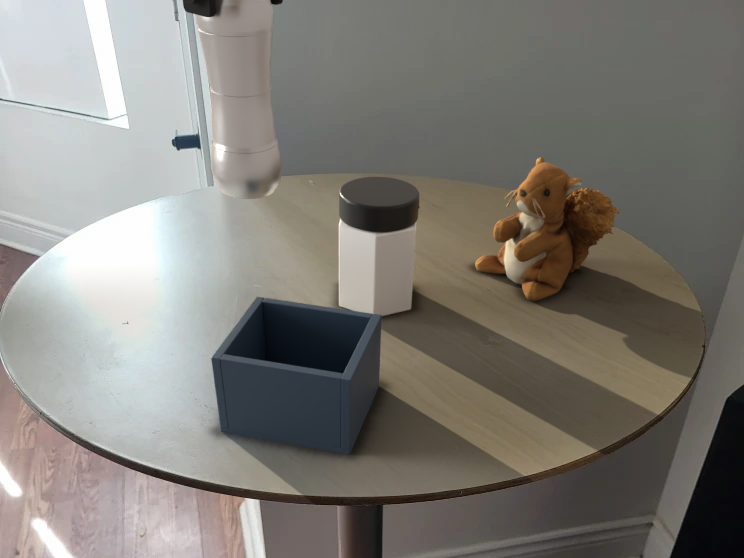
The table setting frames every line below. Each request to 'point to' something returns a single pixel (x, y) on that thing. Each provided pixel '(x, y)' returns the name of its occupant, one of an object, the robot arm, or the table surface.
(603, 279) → the table surface
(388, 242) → the jar
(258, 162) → the silver metal bottle
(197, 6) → the robot arm
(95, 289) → the table surface
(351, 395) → the bin
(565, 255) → the stuffed squirrel
